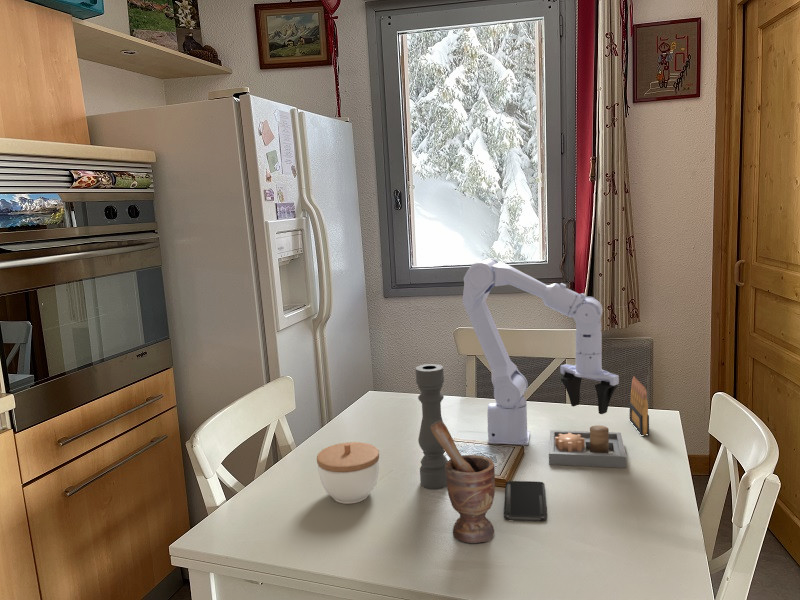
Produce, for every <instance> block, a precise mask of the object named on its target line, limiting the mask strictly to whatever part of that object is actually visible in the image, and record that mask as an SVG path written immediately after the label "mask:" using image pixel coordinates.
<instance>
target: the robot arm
mask: <svg viewBox="0 0 800 600" xmlns="http://www.w3.org/2000/svg"><path fill="white" fill-rule="evenodd" d="M462 279H463V283H464V285H463V293H462V305H463V307H464V311H465V312H466V315H467V316H468V319H469V321H470V324H471V326H472V329H473V330H474V334H475V335H476V338H477V340H478V343H479V345H480V347H481V349H482V352H483V354H484V356H485V359H486V361H487V363H488V365H489V368H490V371H491V373H490V375H491V383H492V384H491V385H492V386H493V397H494V400H495V401H496V402H489V403H488V405H487V438H488V440H487V443H488V444H491V445H492V444H493V445H494V444H496V445H519V446H520V445H521V446H523V445H524V446H527V445H529V443H530V436H531V435H530V434H531V431H529V430H528V411H527V410H528V409H527V408H528V407H527V406H528V405H527V404H528V403H527V400H526V398H525V395H524V394H526V392H527V390H528V385H529V384H528V380H527V378H526V377H525V375H524V374H522V373H521V372H520V370H519V369H518V366H517V365H516V364H515V363H514V362H513V361H512V360H511V358H510V356H509V353H508V351H507V349H506V346H505V344H504V341H503V339H502V337H501V335H500V332H499V330H498V327H497V325H496V323H495V320H494V318H493V316H492V313H491V311H490V309H489V307H488V304H487V299H488V297H489V294H490V292H491V290H492V289H493V287H502V286H512V287H514V288H517V289H519V290H521V291H524V292H525V293H528V294H530V295H533V296H535V297H538V298H540V299H541V301H542V302H543V305H544V306H545V307H547V308H549V309H551V310H552V311H554V312H557V313H559V314H561V315H564V316H566V317H568V318H572V319H573V321H574V322H575V333H574V334H575V335H574V336H575V339H574V341H575V346H574V347H575V364H574V365H573V364H567V363H565V364H561V365H560V367H559V368H560V369H559V370H560V374H561V375H562V374H563V376H561V377H560V381H561V383H562V385H563V386H564V387H565V390H566V392H567V394H568V399H569V401H570V405H571V407H576V406H579V405H580V403H581V402H580V400H581V393H580V391H581V385H582V379H588V380H590V381H591V380H593V381H596V382H600V383H597V384H595V385H594V388H595V391H596V392H595V393H596V396H597V402H598V403H597V404H598V405H597V409H598V414H600V415H604V414H607V412H608V408H609V405H610V402H611V399H612V397H613V395H614V393H615V390H616V389H617V387H618V385H619V384H620V378H619V377H620V376H619V375H618V374H615V373H612V372H609V371H607V370H605V369H602V367H603V364H602V362H603V361H602V359H603V358H602V354H603V353H602V350H603V349H602V348H603V346H602V343H603V342H602V341H603V340H602V338H603V336H602V323H601V321H602V320H601V318H602V315H603V311H604V309H603V305H602V304H601V302H600V301H599V300H598V299H596V298H595V297H593V296H587V294H585V293H583V292H582V293H578V292H577V291H574V290H572V289H570V288H568V287H567V284H565V283H563V282H561V283H560V284H559V283H556V282H555V283H552V284H549V285H548V284H545V283H544V282H542V281H540V280H538V279H536V278H534V277H533V276H531V275H529V274H527V273H525V272H522V271H521V270H519V269H517V268H515V267H514V266H511V265H509V264H507V263H505V262H501V261H499V262H498V260H497V259H494V258H490V257H489V258H484V259H482V260H481V261H479V262H475V263H473V264H471V265H470V266H469V268H468V270H467V271H466V273H465V275H464V276H463V278H462Z"/></svg>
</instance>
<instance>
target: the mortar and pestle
mask: <svg viewBox="0 0 800 600" xmlns="http://www.w3.org/2000/svg"><path fill="white" fill-rule="evenodd" d="M430 428H431V431H432V433H433V435H434V437H435V438H436V440H437V441H438V442H439V444H440V445H441V446H442V448H443V449H444V452H445V453H446V455H447V456H448V457H449V458H450V459H448V461H447V463H446V464H445V470H446V478H447V487H446V488H447V495H448V497H449V500H450V503H451V504H450V505H451V507H452V508H453V509H454V510H455V511H456V513H457V512H458V514H459V517H458V518H457V519H456V520H455V523H453V528H452V535H453V537H455V539H457V540H458V541H460V542H463V543H467V544H478V543H484V542H485V543H486V542H490V541H491V540H492V539H493V537H494V535H495V528H494V525H493V523H492V522H491V520H490V519H488V517H486V514H487V513H488V511H490V509H491V507H492V506H493V504H494V498H495V494H496V493H495V492H496V471H495V463H494V461H493V460H492V459H491V458H489V457H487V456H483V455H476V454H468V455H467V454H466V455H462V454H461V452H460V450H459V449H458V447H457V445H456V443H455V441H454V439H453V436H452V435H451V433H450V431H449V429H448V427H447V426H446V424H445V423H444V421H443V422H442V421H441V420H439V421H437V422H435V423H434V424H432V425H431V426H430Z"/></svg>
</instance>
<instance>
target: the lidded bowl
mask: <svg viewBox="0 0 800 600" xmlns="http://www.w3.org/2000/svg"><path fill="white" fill-rule="evenodd" d="M379 459H380V450H379V449H378V447H377V446H375V445H373V444H370V443H367V442H359V441H352V442H351V441H350V442H342V443H337V444H334V445H332V444H331V445H329V446H327V447H325V448H323V449H321V450H320V451H319V452H318V453H317V455H316V463H317V468H318V469H317V470H318V476H319V480H320V483H321V485H322V488H323V489H324V491H325V493H327V494H328V495H329V496H330V497H331V498H333V500H334V501H335V502H337V503H338V504H343V505H352V504H357V503H361V502H363V501H365V500H367V498H368V497H369V496H370V493H371V492H372V491H373V490H374V489H375V487H376V485H377V483H378V480H379V475H380V460H379Z"/></svg>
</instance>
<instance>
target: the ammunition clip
mask: <svg viewBox="0 0 800 600" xmlns="http://www.w3.org/2000/svg"><path fill="white" fill-rule="evenodd" d="M649 415H650V414H649V404H648V392H647V389H646V386H644V384H642V382H640V381H639V380H638V379H637V378H636V377H635V375H633V377H632V379H631V390H630V401H629V418H628V419H630V421H631V422H632V423H633V425H634V426H635V427H636V428H637V430H638V431H639V432H640V434H641V435H646V434H648V435H649V436H650V416H649ZM630 421H629V422H630ZM631 422H630V423H631ZM633 425H632V426H633ZM634 426H633V427H634ZM637 430H636V431H637ZM640 434H639V435H640Z"/></svg>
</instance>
